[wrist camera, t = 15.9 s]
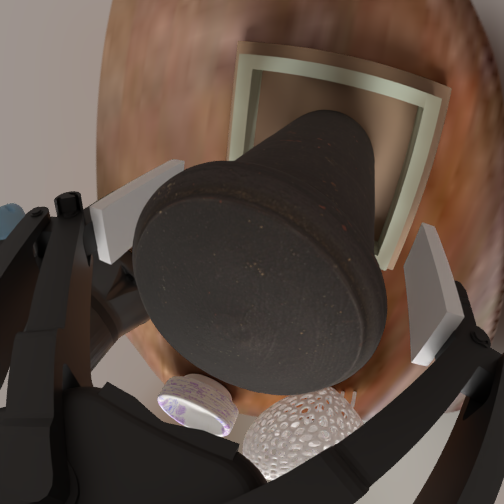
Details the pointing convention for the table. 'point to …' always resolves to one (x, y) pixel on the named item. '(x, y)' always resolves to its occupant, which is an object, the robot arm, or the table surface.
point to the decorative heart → (299, 429)
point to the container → (269, 259)
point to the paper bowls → (199, 403)
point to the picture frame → (355, 106)
